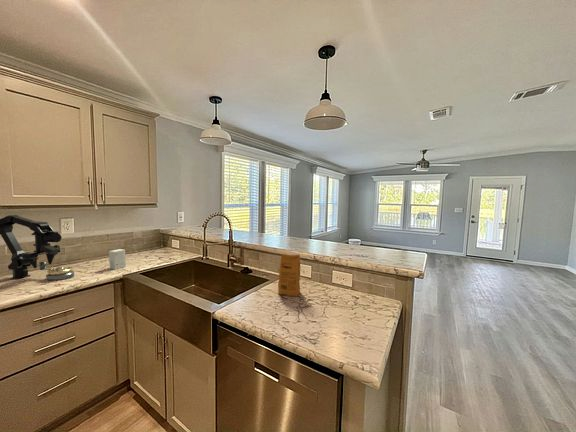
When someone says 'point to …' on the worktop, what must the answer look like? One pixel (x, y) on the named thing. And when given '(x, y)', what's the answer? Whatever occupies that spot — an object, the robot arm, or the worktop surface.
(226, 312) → the worktop surface
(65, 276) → the housing
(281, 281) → the coffee package
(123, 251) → the small box
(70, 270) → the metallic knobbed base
